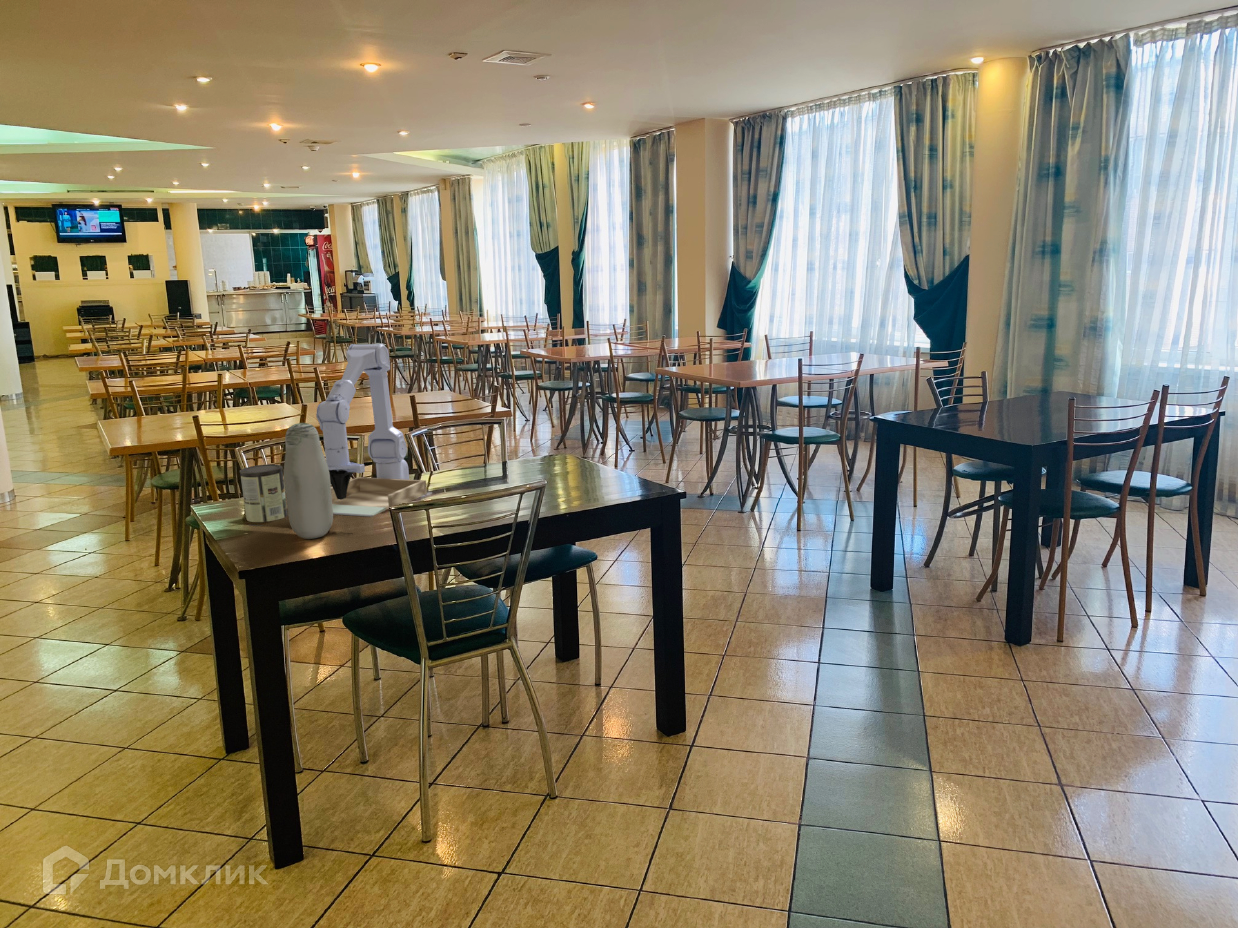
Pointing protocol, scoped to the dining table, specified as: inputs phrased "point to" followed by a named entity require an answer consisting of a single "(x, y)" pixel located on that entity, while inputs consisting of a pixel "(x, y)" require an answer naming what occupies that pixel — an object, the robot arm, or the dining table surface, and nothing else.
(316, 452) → the white bottle
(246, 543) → the dining table surface
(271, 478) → the coffee can
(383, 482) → the cart bed
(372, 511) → the panel
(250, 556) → the dining table surface
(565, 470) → the dining table surface
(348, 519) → the dining table surface
